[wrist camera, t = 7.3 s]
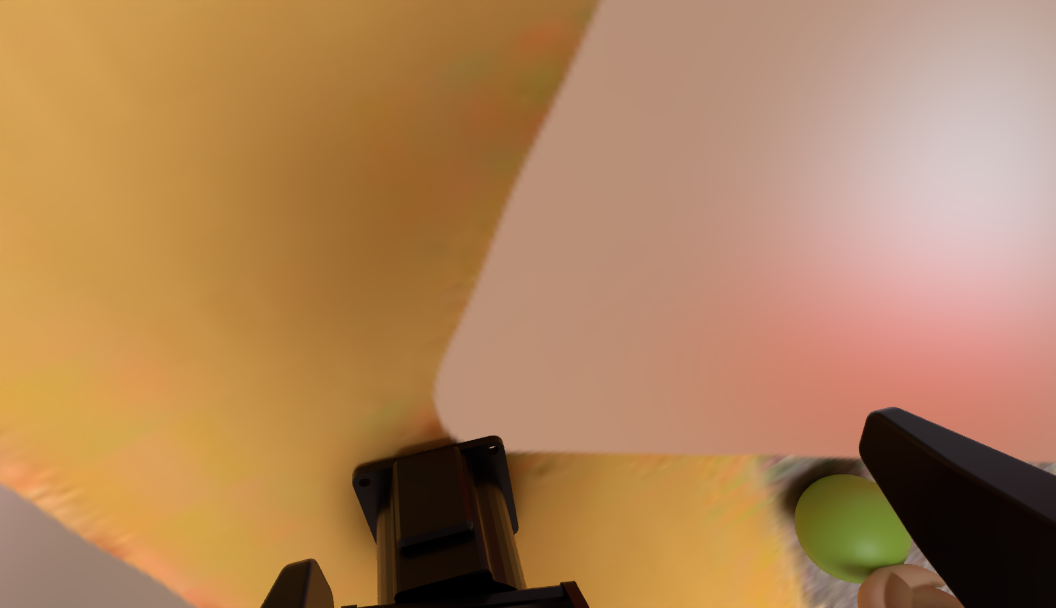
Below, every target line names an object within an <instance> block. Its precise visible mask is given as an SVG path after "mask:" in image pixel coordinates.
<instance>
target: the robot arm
mask: <svg viewBox="0 0 1056 608" xmlns="http://www.w3.org/2000/svg"><path fill="white" fill-rule="evenodd" d="M492 446H495V447H494V448H490V447H492ZM859 453H860V456H861V459H862V461H863V463H864V464H865V466H866V467H867V469H868V470H869V472H870V474H871V475H872V477H873V478H874V480H875V482H876V483H877V485H878V486H879V488H880V489H881V491H882V493H883V494H884V496H885V497H886V499H887V501H888V502H889V504H890V505H891V507H892V508H893V510H894V512H895V513H896V515H897V516H898V518H899V520H900V521H901V523H902V524H903V526H904V527H905V529H906V531H907V532H908V534H909V535H910V536H911V538H912V539H913V541H914V542H915V544H916V545H917V547H918V548H919V549H920V551H921V552H922V553H923V555H924V556H925V557H926V559H927V560H928V561H929V563H930V564H931V565H932V567H933V568H934V569H935V570H936V572H937V573H938V574H939V576H940V577H941V578H942V580H943V581H944V582H945V583H946V585H947V586H948V587H949V589H950V590H951V591H952V592H953V594H954V595H955V596H956V598H957V599H958V600H959V602H960V603H961V604H962V605H963V607H964V608H1056V475H1053V474H1051V473H1049V472H1046V471H1044V470H1042V469H1039V468H1037V467H1035V466H1033V465H1030V464H1028V463H1026V462H1023V461H1021V460H1019V459H1016V458H1014V457H1011V456H1009V455H1007V454H1005V453H1002V452H1000V451H998V450H995V449H993V448H991V447H988V446H986V445H984V444H981V443H979V442H977V441H974V440H972V439H970V438H967V437H965V436H963V435H960V434H958V433H956V432H954V431H951V430H949V429H946V428H944V427H942V426H940V425H937V424H935V423H933V422H930V421H928V420H926V419H923V418H921V417H919V416H916V415H914V414H912V413H909V412H907V411H904V410H902V409H900V408H896V407H888V408H884V409H880V410H876V411H873V412H871V413H870V414H869V415H868V416H867V419H866V422H865V426H864V429H863V433H862V436H861V440H860V443H859ZM362 478H368V479H362ZM352 483H353V487H354V490H355V492H356V495H357V497H358V500H359V502H360V505H361V507H362V510H363V512H364V515H365V517H366V520H367V522H368V525H369V527H370V530H371V532H372V535H373V537H374V540H375V542H376V545H377V591H378V605H375V606H365V607H357V605H349V606H341V608H589V606H588V604H587V602H586V600H585V599H584V597H583V595H582V593H581V591H580V589H579V588H578V586H577V584H576V582H575V581H570V582H561V583H560V585H556V586H547V587H538V588H529V589H527V588H526V583H525V579H524V575H523V571H522V567H521V563H520V559H519V555H518V551H517V546H516V542H515V538H514V534H516V533H517V531H518V528H519V527H518V521H517V516H516V510H515V505H514V499H513V494H512V488H511V483H510V477H509V472H508V466H507V461H506V455H505V450H504V445H503V442H502V439H501V438H500V437H498V436H488V437H483V438H479V439H475V440H471V441H467V442H462V443H458V444H454V445H450V446H446V447H442V448H438V449H434V450H430V451H426V452H421V453H417V454H413V455H409V456H405V457H401V458H397V459H393V460H389V461H385V462H380V463H376V464H372V465H368V466H364V467H361V468H358V469H357V470H355V471H354V473H353V478H352ZM260 608H334V601H333V595H332V592H331V589H330V587H329V585H328V583H327V581H326V579H325V577H324V575H323V573H322V571H321V569H320V567H319V565H318V563H317V562H316V560H314V559H312V558H311V559H306V560H302V561H298V562H294V563H291V564H288V565H286V566H285V567H284V568H283V569H282V571H281V572H280V574H279V576H278V578H277V579H276V581H275V583H274V585H273V586H272V588H271V590H270V592H269V593H268V595H267V597H266V599H265V600H264V602H263V604H262V606H261V607H260Z"/></svg>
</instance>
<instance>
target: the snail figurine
mask: <svg viewBox="0 0 1056 608" xmlns="http://www.w3.org/2000/svg"><path fill="white" fill-rule="evenodd" d="M795 529H796V534H797V537H798V540H799V542H800V544H801V546H802V548H803V550H804V551H805V553H806V554H807V555H808V557H809V558H810V559H811V560H812V561H813V562H814V563H815V564H816V565H817V566H818V567H819V568H820V569H822V570H823V571H825V572H826V573H828V574H829V575H831V576H833V577H835V578H838V579H840V580H843V581H847V582H851V583H859V584H862V585H861V586H860V588H859V591H858V596H857V602H858V608H964V607H963V605H962V604H961V603H960V602H959V600H958V599H957V598H956V597H954V596H952V595H950V594H948V593H946V592H944V591H942V590H939V589H937V588H934V587H942V586H944V585H945V582H944V581H943V580H942V578H941V577H940V576H939V575H937V574H935V573H934V572H932V571H930V570H928V569H925V568H923V567H920V566H917V565H912V564H904V562H905V561H906V559H907V557H908V554H909V551H910V546H911V536H910V535H909V534H908V532H907V531H906V529H905V527H904V526H903V524H902V523H901V521H900V520H899V518H898V516H897V515H896V513H895V512H894V510H893V508H892V507H891V505H890V504H889V502H888V501H887V499H886V497H885V496H884V494H883V493H882V491H881V489H880V488H879V486H878V485H877V483H875V482H873V481H871V480H869V479H866V478H863V477H860V476H856V475H849V474H837V475H831V476H827V477H824V478H821V479H819V480H817V481H816V482H814V483H813V484H811V485H810V486H809V487H808V488H807V489H806V490H805V491H804V492H803V494H802V495H801V497H800V499H799V501H798V503H797V506H796V510H795Z"/></svg>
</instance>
